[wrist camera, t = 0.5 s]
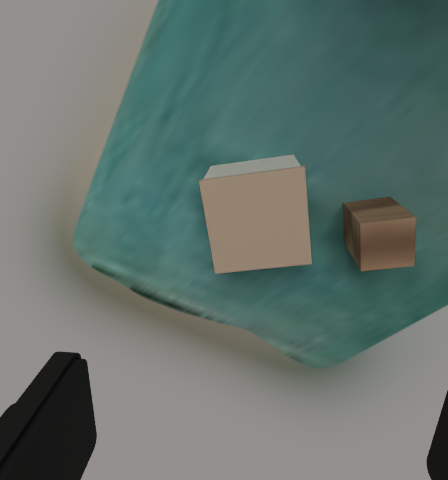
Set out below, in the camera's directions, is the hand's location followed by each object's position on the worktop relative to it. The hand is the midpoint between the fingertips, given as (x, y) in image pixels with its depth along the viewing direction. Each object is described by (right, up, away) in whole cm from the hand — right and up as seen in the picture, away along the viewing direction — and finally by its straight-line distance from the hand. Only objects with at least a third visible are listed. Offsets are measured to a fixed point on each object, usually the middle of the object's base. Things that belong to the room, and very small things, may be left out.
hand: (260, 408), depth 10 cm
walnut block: (+15, +6, +32) cm, 36 cm away
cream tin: (+3, +9, +32) cm, 33 cm away
